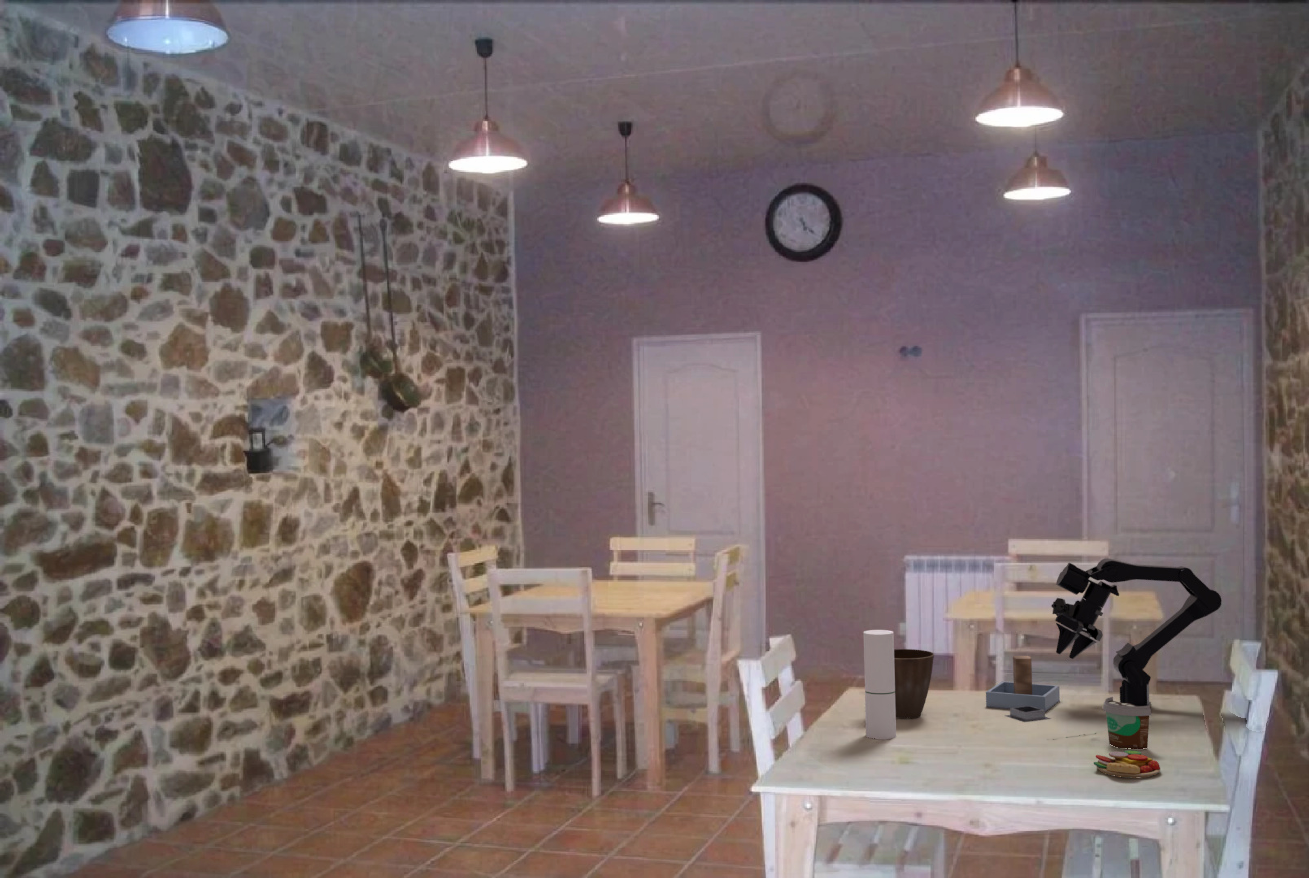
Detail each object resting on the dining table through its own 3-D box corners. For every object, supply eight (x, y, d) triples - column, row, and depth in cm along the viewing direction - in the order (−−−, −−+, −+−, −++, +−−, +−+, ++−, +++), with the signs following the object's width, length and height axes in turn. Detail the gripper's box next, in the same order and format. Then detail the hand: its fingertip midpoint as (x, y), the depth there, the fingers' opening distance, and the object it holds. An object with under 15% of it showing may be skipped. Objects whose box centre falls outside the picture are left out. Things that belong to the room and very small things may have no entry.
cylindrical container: (894, 732, 315) (892, 629, 314) (897, 739, 307) (894, 634, 307) (865, 732, 315) (862, 629, 315) (867, 739, 308) (864, 634, 308)
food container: (1091, 742, 300) (1090, 699, 300) (1111, 739, 302) (1110, 696, 302) (1131, 753, 289) (1130, 709, 289) (1152, 750, 291) (1151, 706, 291)
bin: (1059, 702, 342) (1059, 685, 342) (1045, 714, 329) (1045, 696, 329) (1002, 697, 350) (1002, 681, 350) (986, 709, 337) (985, 691, 337)
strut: (1029, 701, 342) (1028, 655, 342) (1032, 704, 337) (1031, 658, 337) (1013, 701, 342) (1012, 655, 342) (1016, 704, 338) (1015, 658, 338)
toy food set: (1119, 783, 267) (1118, 767, 267) (1080, 767, 279) (1080, 752, 279) (1173, 776, 270) (1173, 761, 270) (1133, 761, 283) (1133, 746, 283)
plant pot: (866, 712, 337) (865, 650, 337) (918, 707, 341) (917, 646, 341) (891, 724, 323) (890, 660, 323) (945, 719, 327) (944, 656, 327)
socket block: (1030, 714, 329) (1030, 704, 329) (1051, 720, 322) (1050, 710, 322) (1004, 717, 327) (1004, 707, 327) (1024, 724, 319) (1024, 713, 319)
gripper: (1078, 595, 350) (1051, 646, 351) (1052, 583, 336) (1024, 636, 337) (1114, 614, 343) (1087, 666, 344) (1089, 602, 329) (1061, 656, 330)
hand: (1064, 655), depth 339 cm, fingers open, 9 cm apart
